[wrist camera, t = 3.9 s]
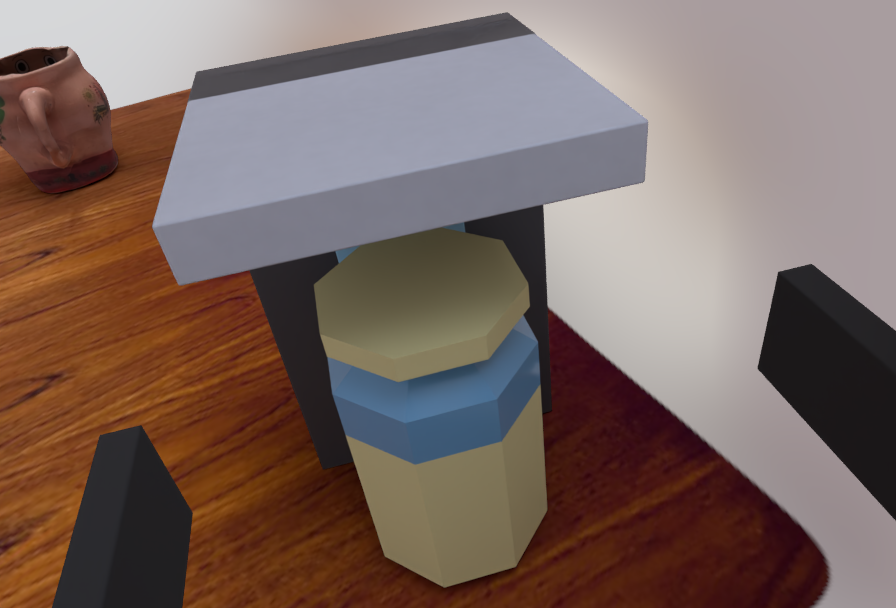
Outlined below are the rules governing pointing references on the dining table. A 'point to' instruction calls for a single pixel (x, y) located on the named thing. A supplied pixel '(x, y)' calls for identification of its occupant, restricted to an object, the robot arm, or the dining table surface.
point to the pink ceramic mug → (55, 119)
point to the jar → (439, 398)
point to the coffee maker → (384, 170)
